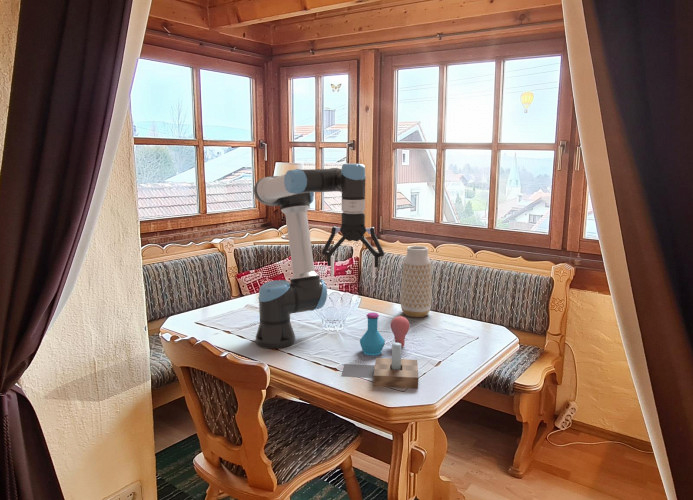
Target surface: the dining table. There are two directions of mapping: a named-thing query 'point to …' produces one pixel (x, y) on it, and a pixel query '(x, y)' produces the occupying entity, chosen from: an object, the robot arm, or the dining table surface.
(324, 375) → the dining table surface
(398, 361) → the peg
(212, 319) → the dining table surface
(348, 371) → the mat
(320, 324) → the dining table surface
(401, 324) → the light bulb
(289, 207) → the robot arm
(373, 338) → the perfume bottle
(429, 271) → the vase
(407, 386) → the hole block
